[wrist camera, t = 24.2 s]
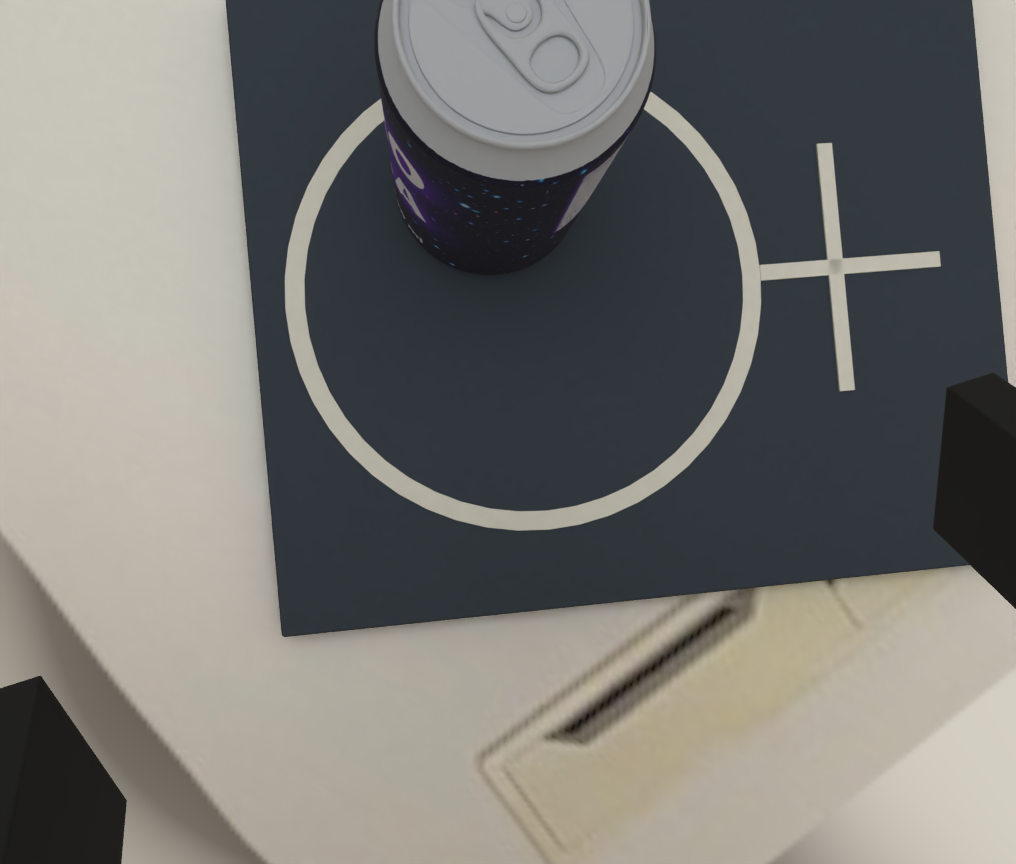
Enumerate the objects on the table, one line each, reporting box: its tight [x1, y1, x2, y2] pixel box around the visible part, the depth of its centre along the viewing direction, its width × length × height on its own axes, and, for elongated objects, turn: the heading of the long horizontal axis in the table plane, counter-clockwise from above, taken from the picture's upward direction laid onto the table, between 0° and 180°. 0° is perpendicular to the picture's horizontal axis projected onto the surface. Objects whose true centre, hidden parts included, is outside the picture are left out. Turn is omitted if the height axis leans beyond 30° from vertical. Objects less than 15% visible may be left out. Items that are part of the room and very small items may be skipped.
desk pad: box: [226, 0, 1008, 637], centre depth 31 cm, size 24×20×1 cm
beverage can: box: [374, 0, 656, 275], centre depth 24 cm, size 6×6×12 cm
